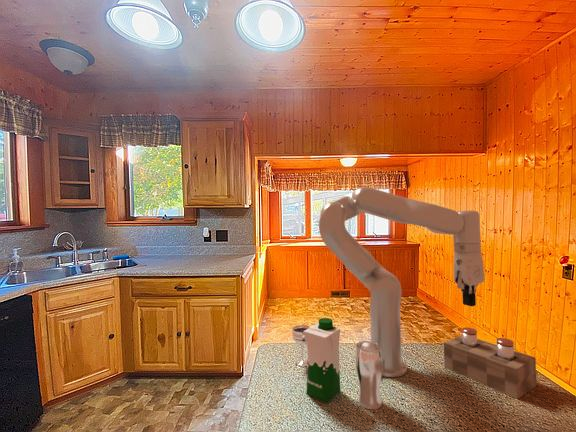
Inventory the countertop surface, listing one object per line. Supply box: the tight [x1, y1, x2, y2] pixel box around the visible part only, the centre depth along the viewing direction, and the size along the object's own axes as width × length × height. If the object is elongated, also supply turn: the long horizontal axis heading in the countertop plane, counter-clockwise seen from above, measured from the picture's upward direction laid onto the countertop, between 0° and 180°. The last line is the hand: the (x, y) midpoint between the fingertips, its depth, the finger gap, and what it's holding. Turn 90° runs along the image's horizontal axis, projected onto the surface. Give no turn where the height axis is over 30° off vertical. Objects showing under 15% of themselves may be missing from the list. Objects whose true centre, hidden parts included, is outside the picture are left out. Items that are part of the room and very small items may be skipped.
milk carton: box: [303, 317, 341, 404], centre depth 82 cm, size 9×9×20 cm
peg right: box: [496, 337, 515, 361], centre depth 84 cm, size 4×4×8 cm
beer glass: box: [354, 340, 383, 410], centre depth 77 cm, size 7×7×15 cm
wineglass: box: [291, 324, 310, 366], centre depth 99 cm, size 7×7×12 cm
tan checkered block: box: [443, 335, 537, 400], centre depth 89 cm, size 12×20×8 cm, turn 30°
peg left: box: [461, 326, 478, 348], centre depth 93 cm, size 4×4×8 cm
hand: (469, 304), depth 93 cm, fingers closed
